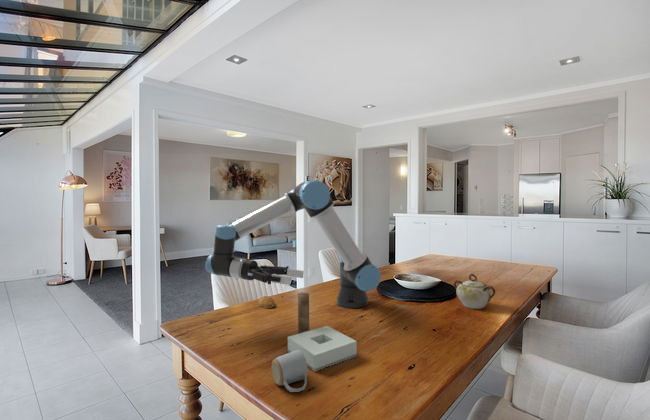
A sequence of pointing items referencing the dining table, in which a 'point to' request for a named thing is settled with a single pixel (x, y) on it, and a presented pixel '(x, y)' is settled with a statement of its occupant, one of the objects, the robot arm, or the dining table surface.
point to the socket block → (323, 347)
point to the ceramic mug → (290, 369)
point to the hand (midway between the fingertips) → (297, 277)
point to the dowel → (303, 312)
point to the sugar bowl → (473, 293)
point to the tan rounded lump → (266, 302)
